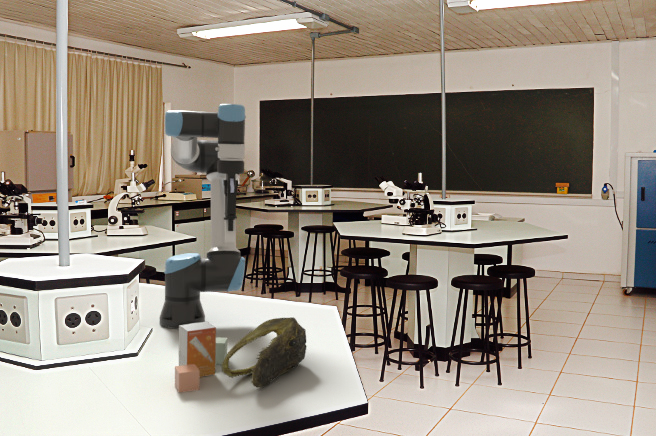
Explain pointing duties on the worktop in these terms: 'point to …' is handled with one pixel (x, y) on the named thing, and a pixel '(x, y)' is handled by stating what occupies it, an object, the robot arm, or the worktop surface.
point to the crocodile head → (272, 351)
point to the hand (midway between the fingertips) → (229, 241)
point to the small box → (198, 347)
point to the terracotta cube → (186, 378)
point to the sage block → (221, 350)
